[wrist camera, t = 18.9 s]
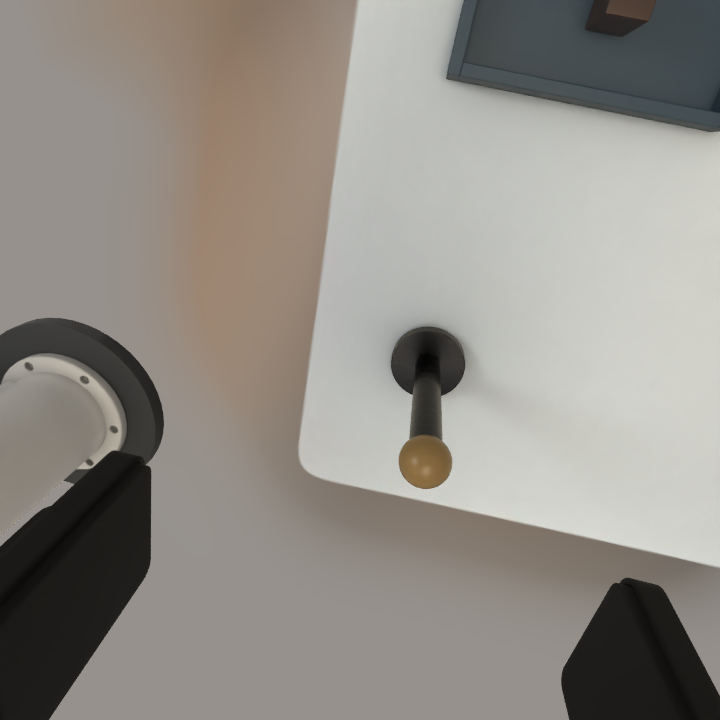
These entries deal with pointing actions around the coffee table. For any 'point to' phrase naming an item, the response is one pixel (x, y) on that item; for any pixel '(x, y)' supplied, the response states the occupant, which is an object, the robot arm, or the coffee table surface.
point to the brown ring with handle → (619, 16)
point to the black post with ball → (427, 400)
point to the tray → (596, 57)
